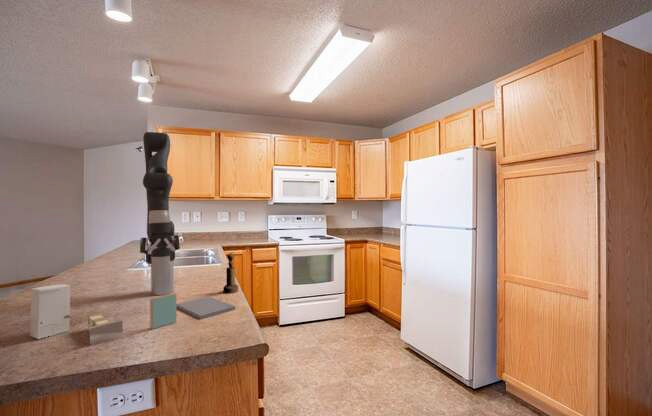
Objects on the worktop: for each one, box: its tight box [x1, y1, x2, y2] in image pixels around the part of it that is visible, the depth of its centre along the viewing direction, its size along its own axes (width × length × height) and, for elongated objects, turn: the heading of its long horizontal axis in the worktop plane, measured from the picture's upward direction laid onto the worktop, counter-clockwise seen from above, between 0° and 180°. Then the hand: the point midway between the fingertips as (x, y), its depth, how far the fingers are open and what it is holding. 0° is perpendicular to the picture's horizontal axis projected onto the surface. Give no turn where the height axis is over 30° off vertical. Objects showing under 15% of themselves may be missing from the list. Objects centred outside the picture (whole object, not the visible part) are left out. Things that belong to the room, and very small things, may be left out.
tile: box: [149, 292, 177, 330], centre depth 105 cm, size 1×8×10 cm, turn 139°
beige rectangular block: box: [87, 313, 124, 346], centre depth 97 cm, size 15×8×5 cm, turn 49°
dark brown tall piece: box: [223, 252, 239, 294], centre depth 146 cm, size 7×6×18 cm
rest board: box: [176, 296, 236, 320], centre depth 122 cm, size 20×14×1 cm
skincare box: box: [29, 283, 71, 340], centre depth 98 cm, size 8×6×15 cm
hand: (161, 262), depth 125 cm, fingers open, 8 cm apart
